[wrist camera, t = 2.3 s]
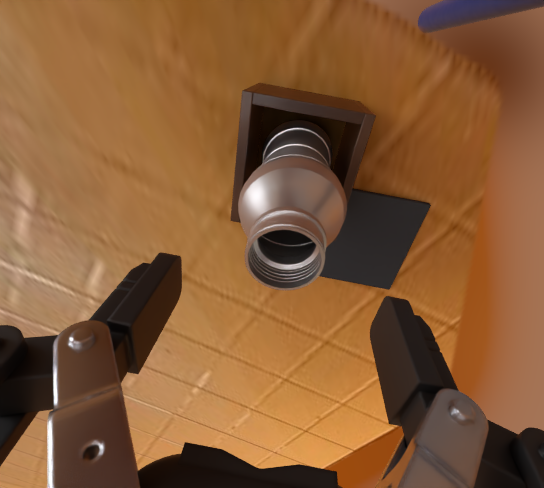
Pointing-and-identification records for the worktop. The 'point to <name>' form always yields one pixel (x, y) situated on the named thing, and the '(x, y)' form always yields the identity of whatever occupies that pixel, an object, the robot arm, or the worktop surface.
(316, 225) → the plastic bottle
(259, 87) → the holder
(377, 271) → the mat
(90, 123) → the worktop surface
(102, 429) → the robot arm
